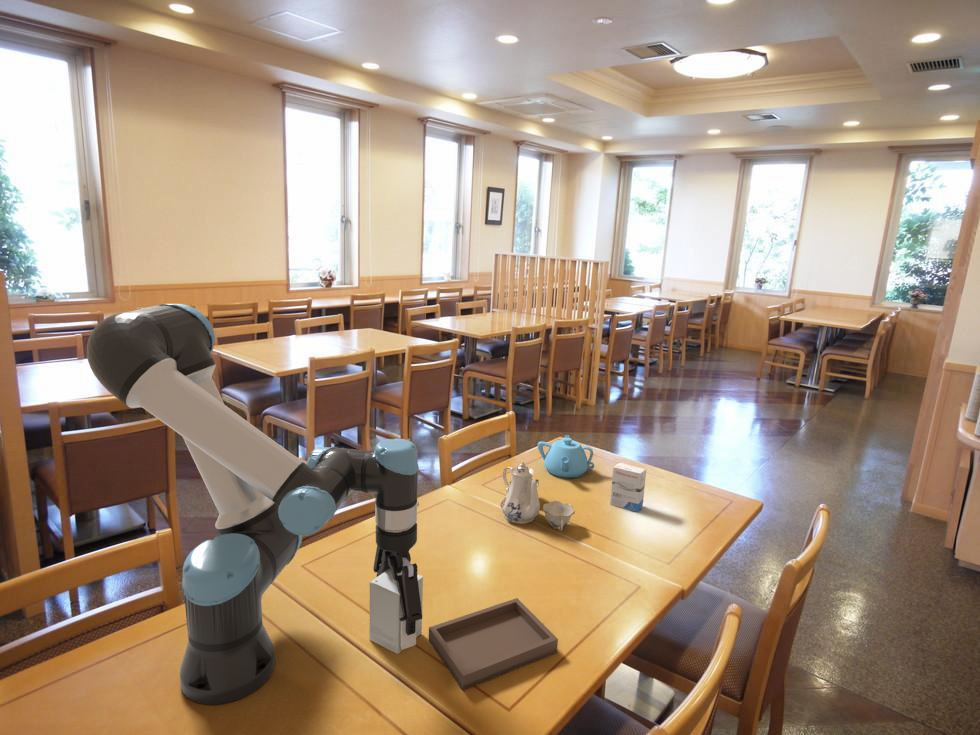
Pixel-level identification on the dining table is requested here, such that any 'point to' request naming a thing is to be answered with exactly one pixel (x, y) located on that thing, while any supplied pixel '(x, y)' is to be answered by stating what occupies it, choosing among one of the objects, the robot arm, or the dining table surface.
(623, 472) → the ink box
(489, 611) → the tray
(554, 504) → the chinaware
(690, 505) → the dining table surface
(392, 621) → the supplement box
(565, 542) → the dining table surface
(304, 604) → the dining table surface
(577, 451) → the teapot
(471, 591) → the dining table surface
